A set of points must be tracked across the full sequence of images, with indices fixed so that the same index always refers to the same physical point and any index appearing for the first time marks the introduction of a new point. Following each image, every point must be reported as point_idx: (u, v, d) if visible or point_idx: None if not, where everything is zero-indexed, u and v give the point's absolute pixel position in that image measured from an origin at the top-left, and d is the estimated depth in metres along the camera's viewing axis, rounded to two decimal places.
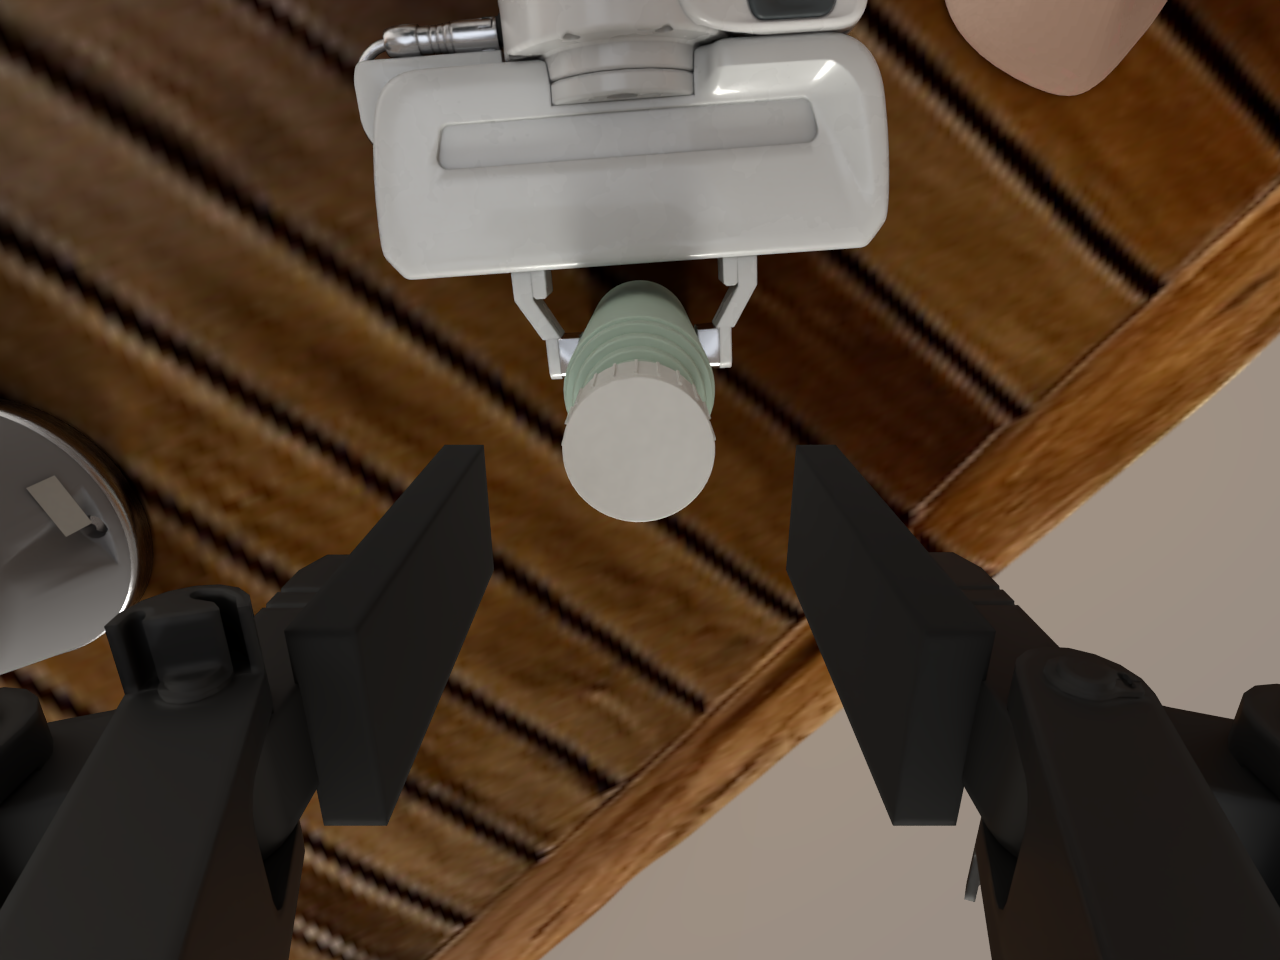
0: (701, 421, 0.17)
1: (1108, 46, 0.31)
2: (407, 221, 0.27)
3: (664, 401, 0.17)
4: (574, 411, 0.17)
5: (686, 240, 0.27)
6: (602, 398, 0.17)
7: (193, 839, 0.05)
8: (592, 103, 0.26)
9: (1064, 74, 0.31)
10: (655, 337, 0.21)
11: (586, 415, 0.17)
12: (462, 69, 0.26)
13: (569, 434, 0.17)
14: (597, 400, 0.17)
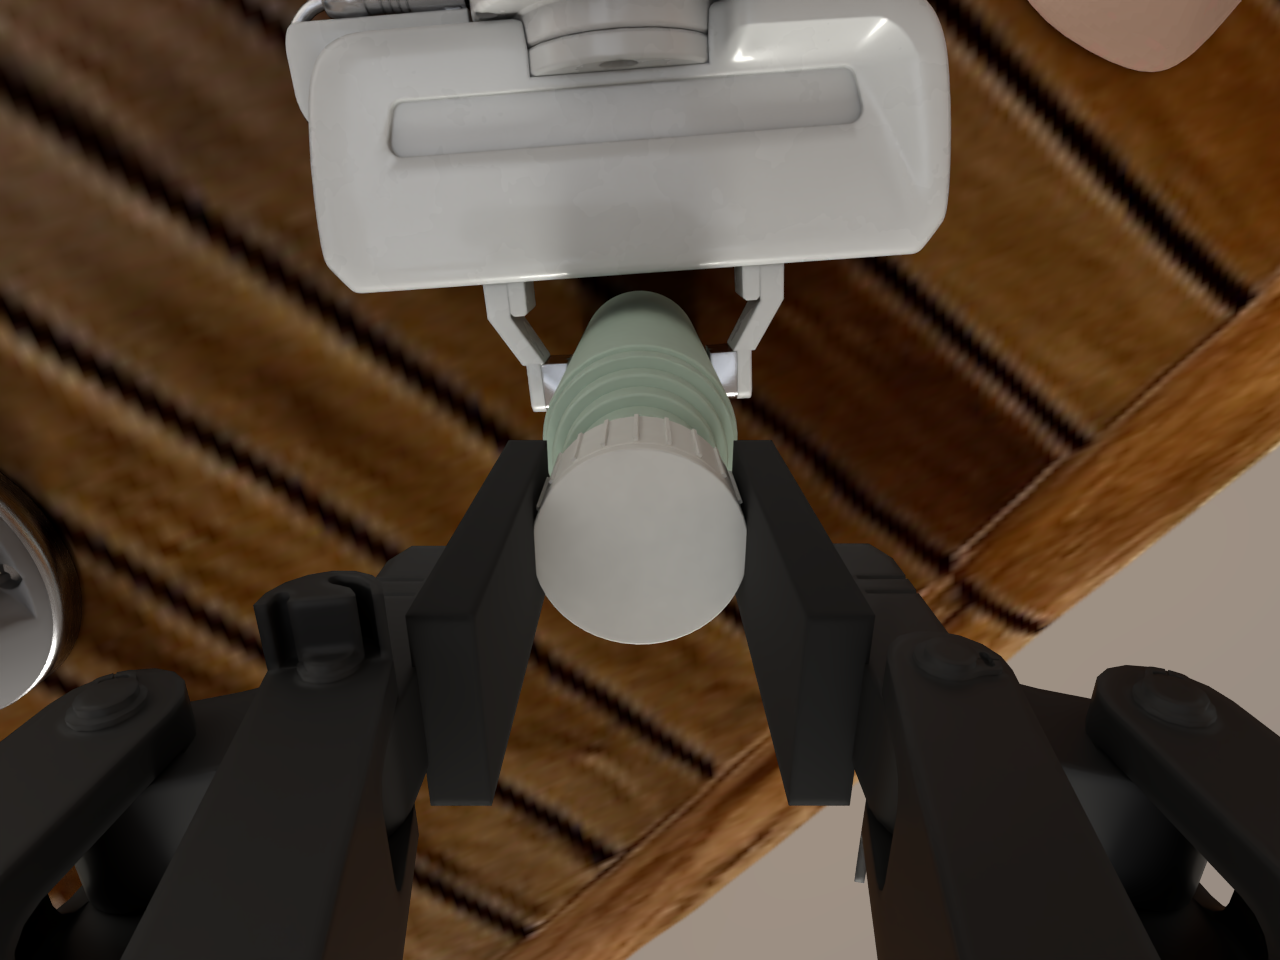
0: (730, 509, 0.12)
1: (1204, 11, 0.26)
2: (352, 221, 0.22)
3: (677, 482, 0.12)
4: (547, 496, 0.12)
5: (698, 245, 0.22)
6: (587, 478, 0.12)
7: (335, 819, 0.05)
8: (582, 73, 0.21)
9: (1149, 45, 0.26)
10: (661, 375, 0.16)
11: (564, 501, 0.12)
12: (417, 31, 0.20)
13: (540, 527, 0.12)
14: (580, 480, 0.12)
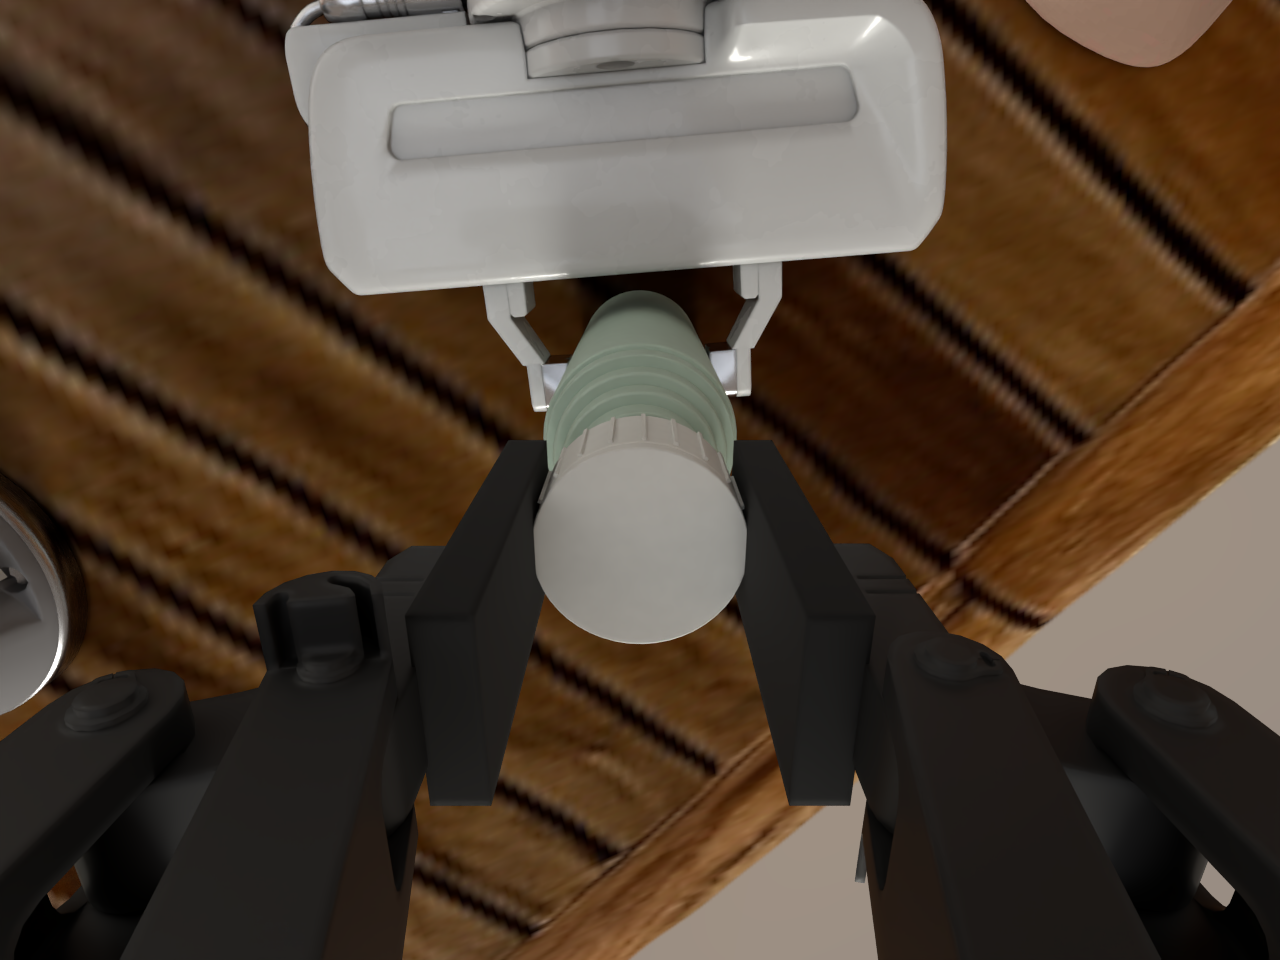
0: (557, 496, 0.12)
1: (1199, 6, 0.26)
2: (352, 224, 0.22)
3: (557, 551, 0.12)
4: (626, 642, 0.13)
5: (696, 244, 0.22)
6: (593, 619, 0.13)
7: (334, 819, 0.05)
8: (579, 75, 0.21)
9: (1145, 41, 0.26)
10: (660, 373, 0.16)
11: (624, 628, 0.13)
12: (415, 34, 0.20)
13: (657, 637, 0.13)
14: (598, 624, 0.13)
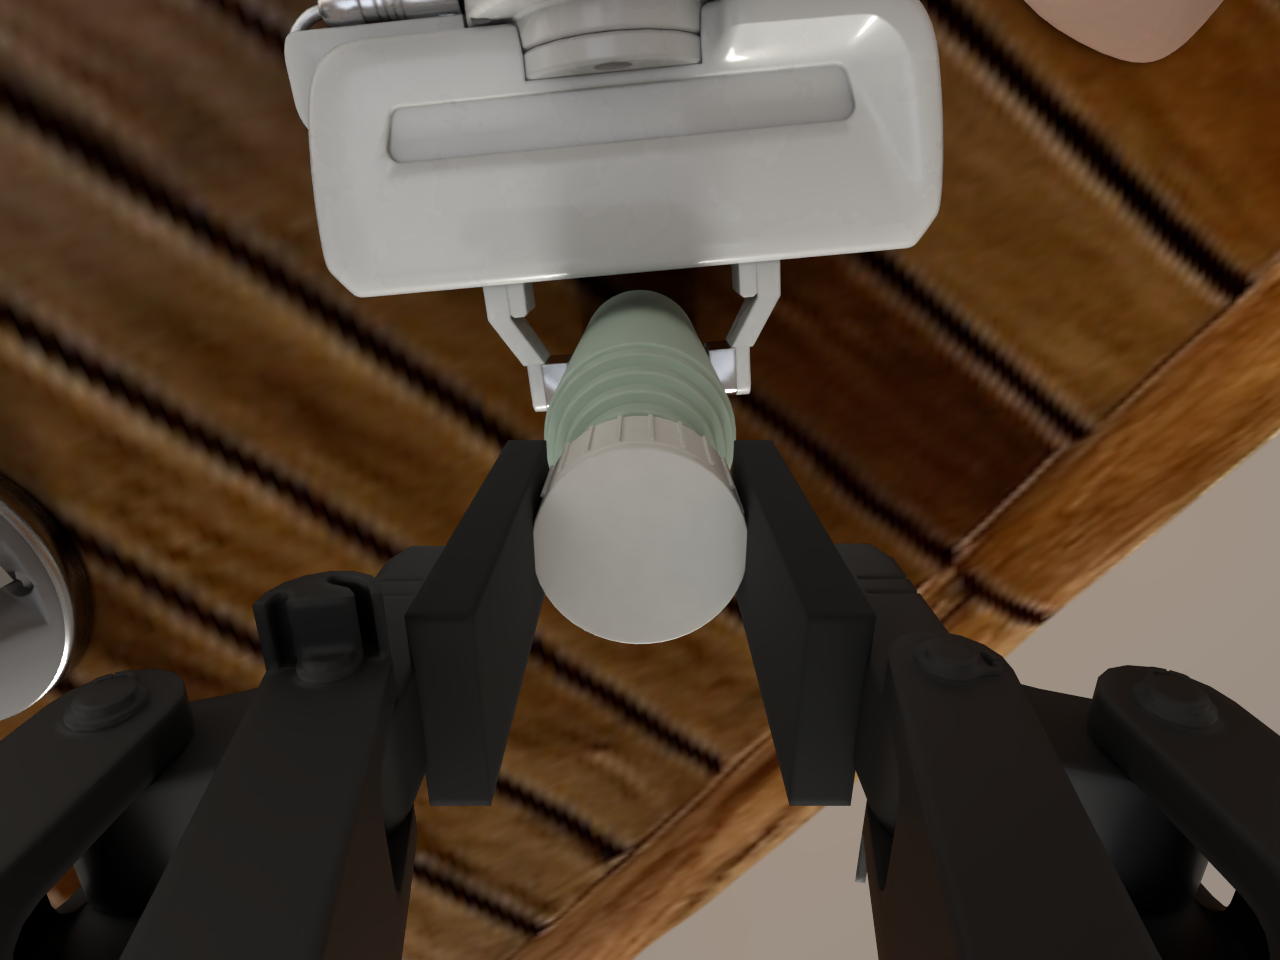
0: (623, 635, 0.13)
1: (1195, 1, 0.26)
2: (352, 226, 0.22)
3: (675, 615, 0.13)
4: (744, 520, 0.12)
5: (694, 243, 0.22)
6: (732, 558, 0.12)
7: (334, 819, 0.05)
8: (576, 76, 0.21)
9: (1140, 36, 0.26)
10: (659, 372, 0.16)
11: (728, 529, 0.12)
12: (414, 37, 0.21)
13: (724, 495, 0.12)
14: (735, 552, 0.12)
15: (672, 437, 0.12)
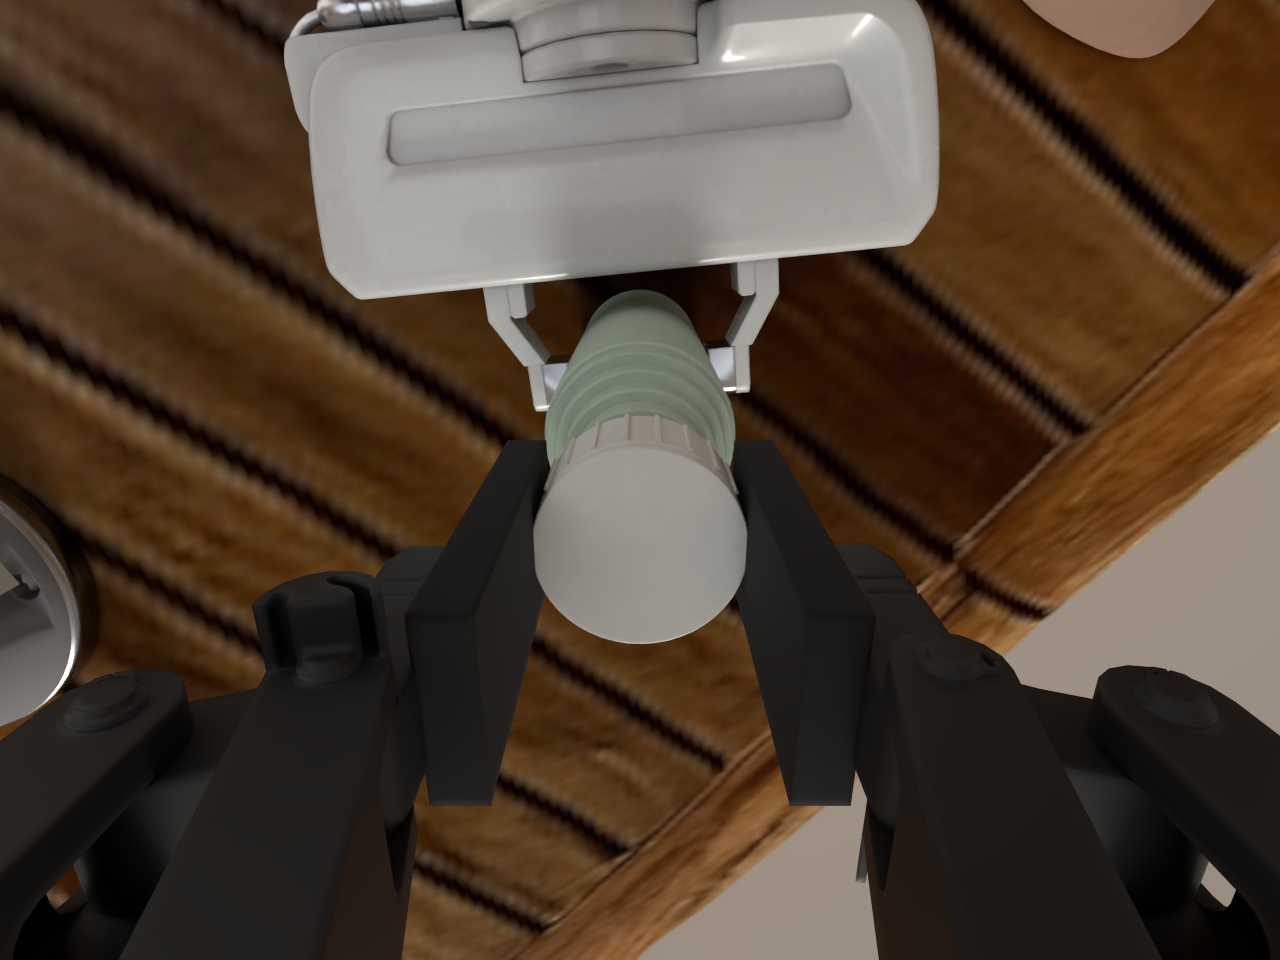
0: (737, 526, 0.12)
1: None
2: (353, 229, 0.22)
3: (692, 490, 0.12)
4: (561, 479, 0.12)
5: (693, 243, 0.23)
6: (605, 468, 0.12)
7: (333, 819, 0.05)
8: (574, 78, 0.21)
9: (1136, 32, 0.26)
10: (658, 371, 0.17)
11: (577, 487, 0.12)
12: (412, 41, 0.21)
13: (547, 509, 0.12)
14: (597, 470, 0.12)
15: None
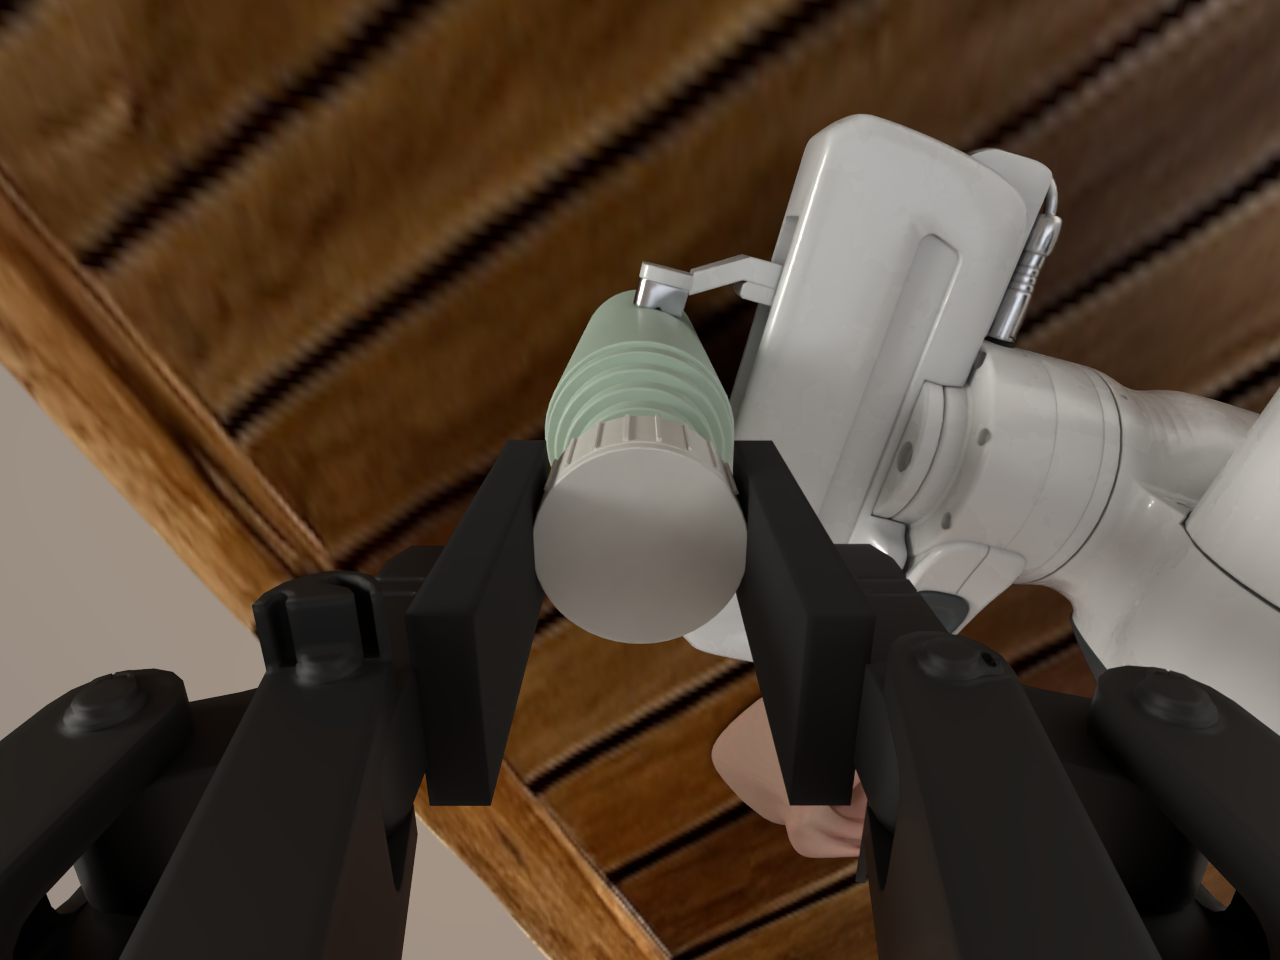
0: (737, 527, 0.12)
1: (740, 777, 0.39)
2: (891, 167, 0.22)
3: (692, 490, 0.12)
4: (561, 478, 0.12)
5: None
6: (605, 468, 0.12)
7: (333, 819, 0.05)
8: (907, 420, 0.25)
9: (732, 747, 0.38)
10: None
11: (577, 487, 0.12)
12: (998, 300, 0.23)
13: (547, 508, 0.12)
14: (598, 470, 0.12)
15: None
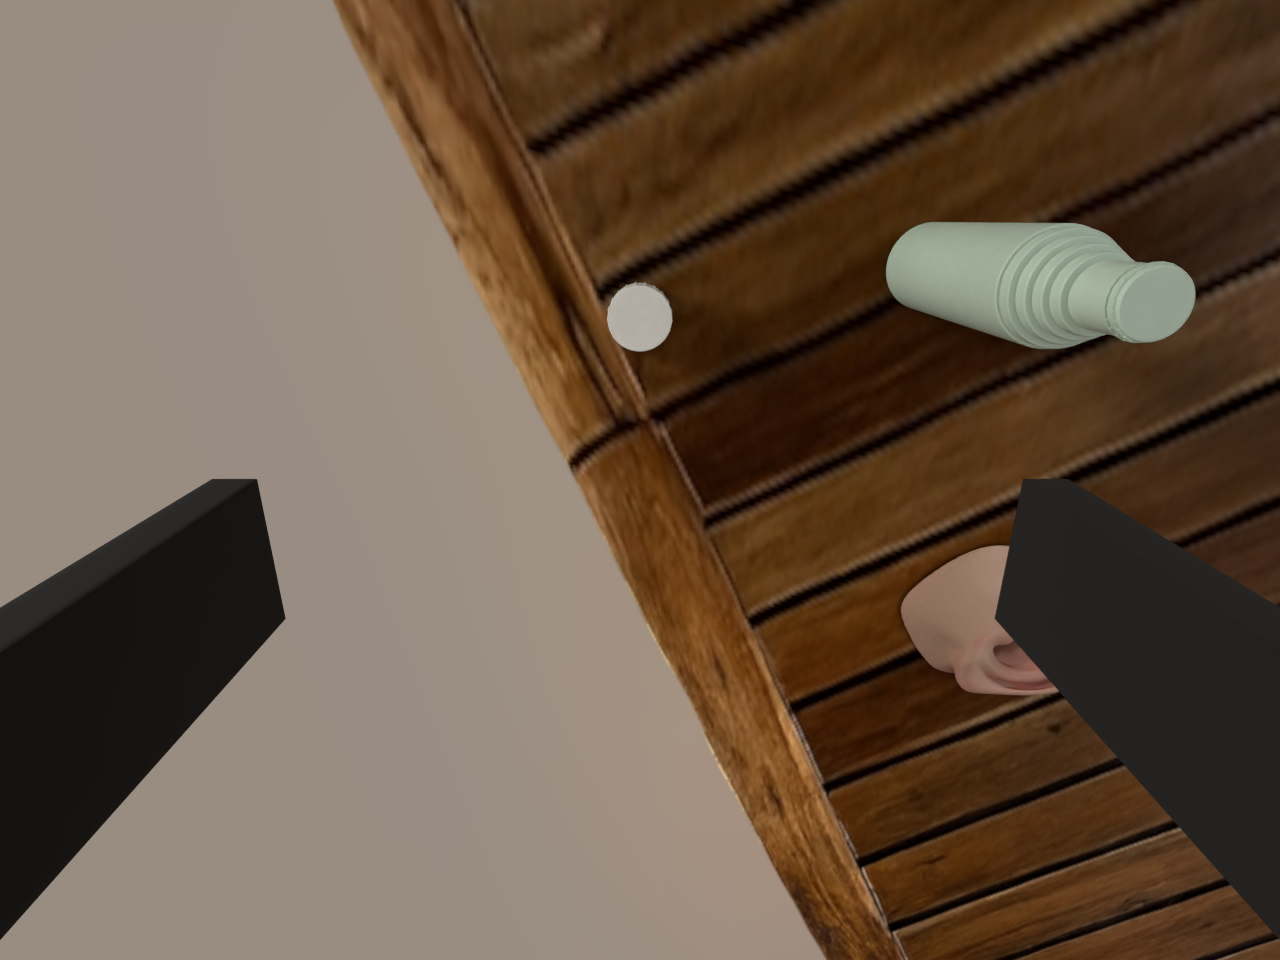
0: (668, 310, 0.41)
1: (924, 623, 0.49)
2: None
3: (654, 299, 0.41)
4: (617, 295, 0.41)
5: None
6: (629, 292, 0.41)
7: None
8: None
9: (922, 598, 0.49)
10: None
11: (621, 298, 0.41)
12: None
13: (613, 305, 0.41)
14: (627, 292, 0.41)
15: None
